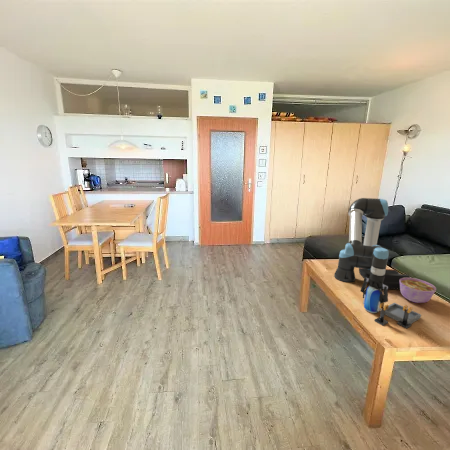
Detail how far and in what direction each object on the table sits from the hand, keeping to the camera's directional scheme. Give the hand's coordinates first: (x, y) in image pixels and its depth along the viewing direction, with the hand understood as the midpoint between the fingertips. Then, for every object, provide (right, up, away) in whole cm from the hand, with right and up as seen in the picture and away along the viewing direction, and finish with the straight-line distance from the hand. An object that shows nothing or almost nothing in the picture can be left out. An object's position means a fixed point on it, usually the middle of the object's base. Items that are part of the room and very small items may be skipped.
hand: (371, 306), depth 159 cm
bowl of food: (+36, 0, +14) cm, 39 cm away
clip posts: (+5, -6, -12) cm, 14 cm away
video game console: (+31, +6, +39) cm, 50 cm away
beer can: (0, -2, +1) cm, 3 cm away
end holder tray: (+15, -4, -5) cm, 16 cm away
